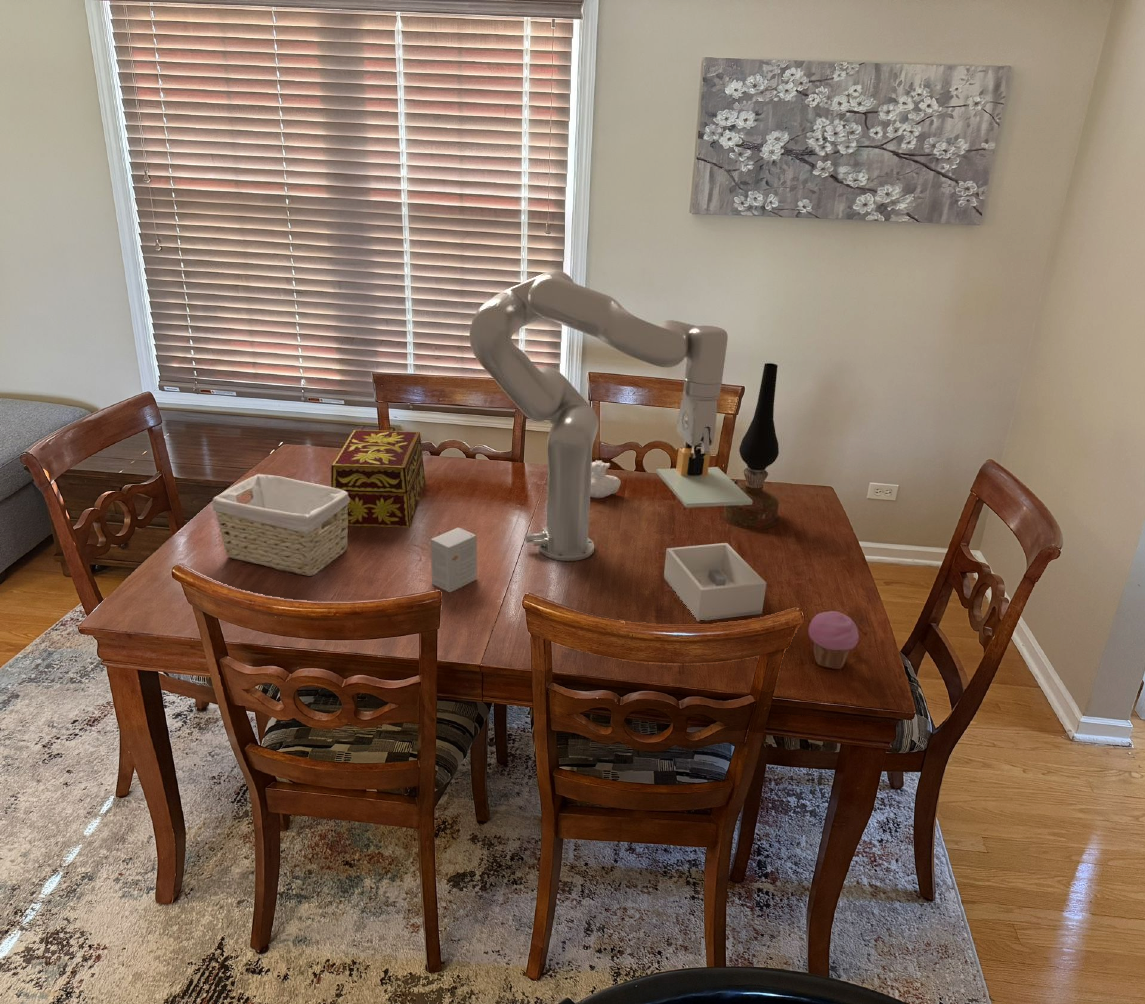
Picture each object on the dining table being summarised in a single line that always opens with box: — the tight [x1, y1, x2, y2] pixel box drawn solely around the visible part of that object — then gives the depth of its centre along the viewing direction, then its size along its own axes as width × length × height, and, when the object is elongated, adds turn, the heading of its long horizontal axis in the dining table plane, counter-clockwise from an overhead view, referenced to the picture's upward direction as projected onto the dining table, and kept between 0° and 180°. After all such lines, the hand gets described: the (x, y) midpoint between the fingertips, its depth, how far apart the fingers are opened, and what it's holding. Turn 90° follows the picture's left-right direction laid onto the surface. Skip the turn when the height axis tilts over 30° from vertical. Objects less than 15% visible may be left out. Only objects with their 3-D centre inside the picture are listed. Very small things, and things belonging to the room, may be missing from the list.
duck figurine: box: [590, 459, 622, 499], centre depth 217 cm, size 12×8×11 cm
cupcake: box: [807, 610, 860, 670], centre depth 151 cm, size 9×9×10 cm
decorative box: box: [330, 429, 426, 528], centre depth 206 cm, size 28×19×15 cm
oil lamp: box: [721, 362, 780, 530], centre depth 204 cm, size 14×15×40 cm
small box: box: [430, 527, 478, 593], centre depth 172 cm, size 8×6×10 cm
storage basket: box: [212, 473, 350, 577], centre depth 179 cm, size 24×16×15 cm
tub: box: [663, 542, 767, 622], centre depth 173 cm, size 18×14×7 cm
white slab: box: [655, 447, 753, 509], centre depth 172 cm, size 18×14×7 cm
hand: (691, 470), depth 178 cm, fingers closed on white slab, 2 cm apart
